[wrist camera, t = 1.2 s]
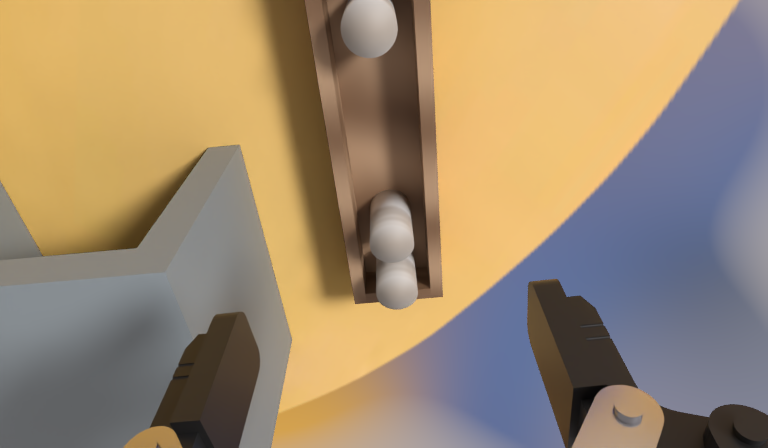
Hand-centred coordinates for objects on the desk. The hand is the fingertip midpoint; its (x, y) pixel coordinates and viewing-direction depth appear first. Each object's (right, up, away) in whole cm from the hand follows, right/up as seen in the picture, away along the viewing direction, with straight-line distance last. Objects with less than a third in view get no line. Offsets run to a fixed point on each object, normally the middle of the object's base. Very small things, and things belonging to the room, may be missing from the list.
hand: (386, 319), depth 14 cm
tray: (0, +9, +16) cm, 19 cm away
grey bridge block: (-17, 0, +22) cm, 28 cm away
